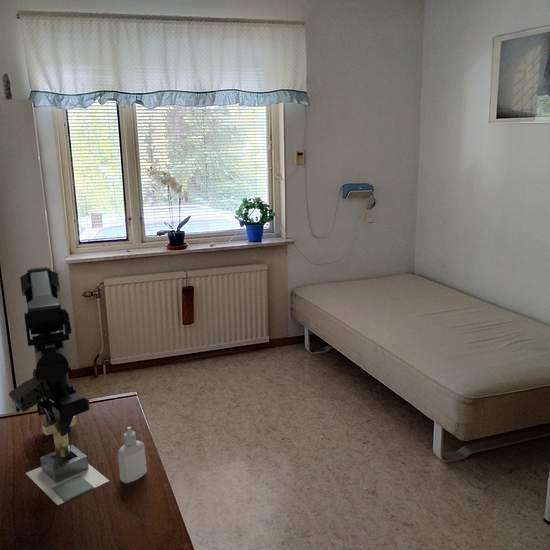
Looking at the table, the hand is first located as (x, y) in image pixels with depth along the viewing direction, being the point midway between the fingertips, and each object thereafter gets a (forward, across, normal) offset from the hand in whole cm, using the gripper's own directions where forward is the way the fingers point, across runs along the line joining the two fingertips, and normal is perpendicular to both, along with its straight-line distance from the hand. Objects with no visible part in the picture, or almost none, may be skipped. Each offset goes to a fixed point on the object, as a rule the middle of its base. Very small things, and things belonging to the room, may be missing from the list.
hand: (60, 432), depth 118 cm
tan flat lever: (+5, 0, 0) cm, 5 cm away
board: (+10, +3, -1) cm, 10 cm away
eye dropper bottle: (+10, +13, +9) cm, 19 cm away
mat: (+9, +8, -2) cm, 12 cm away
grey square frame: (+9, 0, 0) cm, 9 cm away
